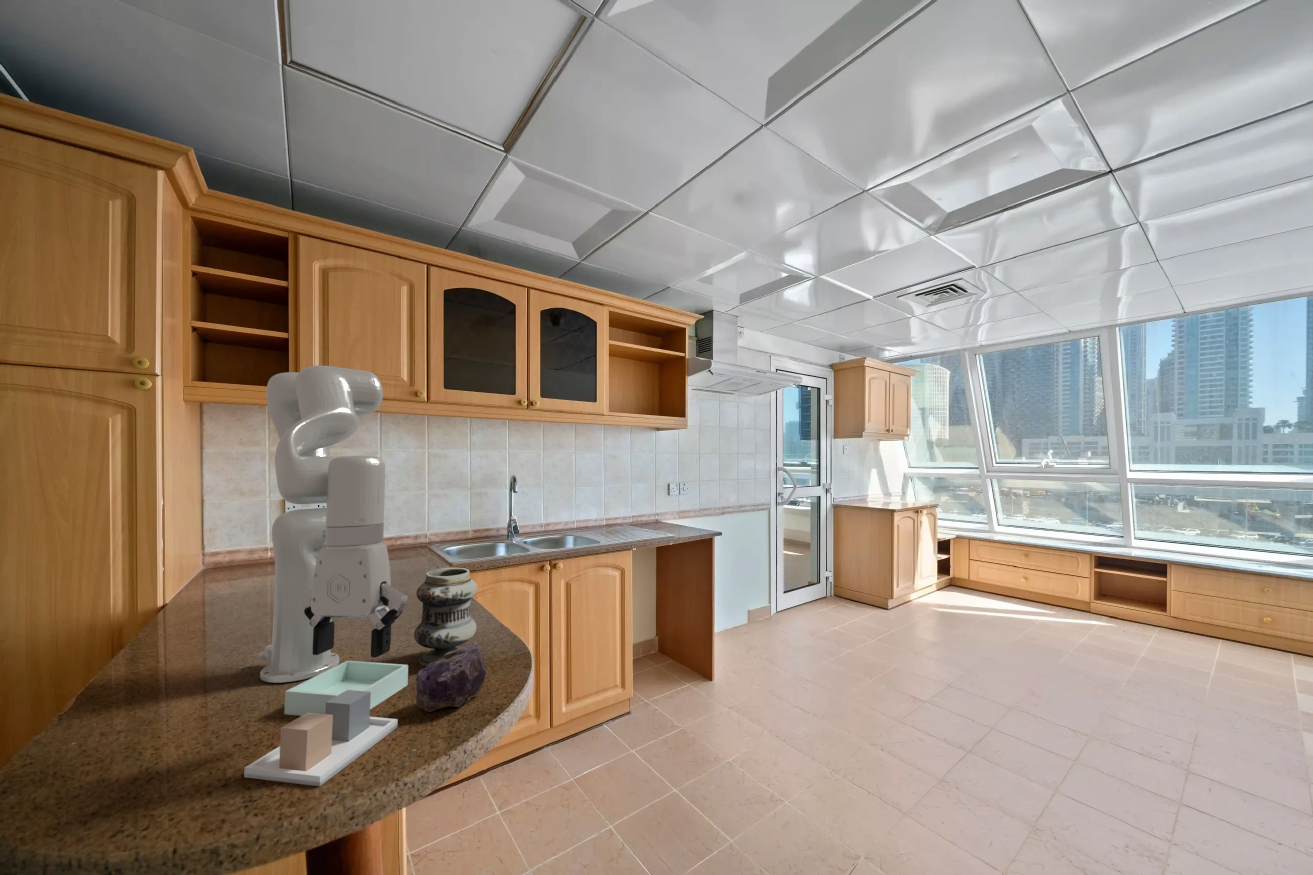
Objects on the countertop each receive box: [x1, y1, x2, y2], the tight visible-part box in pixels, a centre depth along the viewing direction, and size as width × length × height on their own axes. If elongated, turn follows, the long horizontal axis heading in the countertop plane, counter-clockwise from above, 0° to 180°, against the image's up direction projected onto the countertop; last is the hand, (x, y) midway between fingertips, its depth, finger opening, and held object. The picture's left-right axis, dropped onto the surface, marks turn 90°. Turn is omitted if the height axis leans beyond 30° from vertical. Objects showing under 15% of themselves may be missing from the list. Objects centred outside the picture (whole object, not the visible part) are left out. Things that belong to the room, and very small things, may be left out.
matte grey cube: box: [325, 690, 371, 742], centre depth 72 cm, size 4×4×5 cm
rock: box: [415, 641, 487, 713], centre depth 83 cm, size 12×9×10 cm
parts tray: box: [243, 716, 399, 787], centre depth 68 cm, size 11×14×1 cm
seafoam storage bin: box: [283, 660, 409, 717], centre depth 83 cm, size 13×13×4 cm
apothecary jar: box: [413, 567, 478, 668], centre depth 102 cm, size 12×12×18 cm
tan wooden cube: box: [279, 713, 333, 771], centre depth 65 cm, size 4×4×5 cm
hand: (351, 652), depth 72 cm, fingers open, 9 cm apart
